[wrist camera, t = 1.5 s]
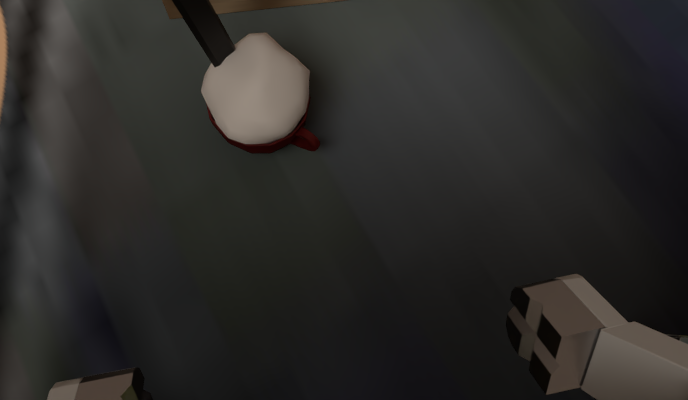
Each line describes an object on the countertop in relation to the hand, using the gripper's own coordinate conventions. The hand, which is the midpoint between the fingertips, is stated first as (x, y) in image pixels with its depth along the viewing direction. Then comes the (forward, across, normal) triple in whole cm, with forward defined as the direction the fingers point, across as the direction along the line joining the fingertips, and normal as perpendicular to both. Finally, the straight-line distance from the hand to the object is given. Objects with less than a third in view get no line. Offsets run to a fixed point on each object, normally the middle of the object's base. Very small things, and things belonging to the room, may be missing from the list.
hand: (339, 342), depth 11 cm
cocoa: (+24, 0, +4) cm, 25 cm away
